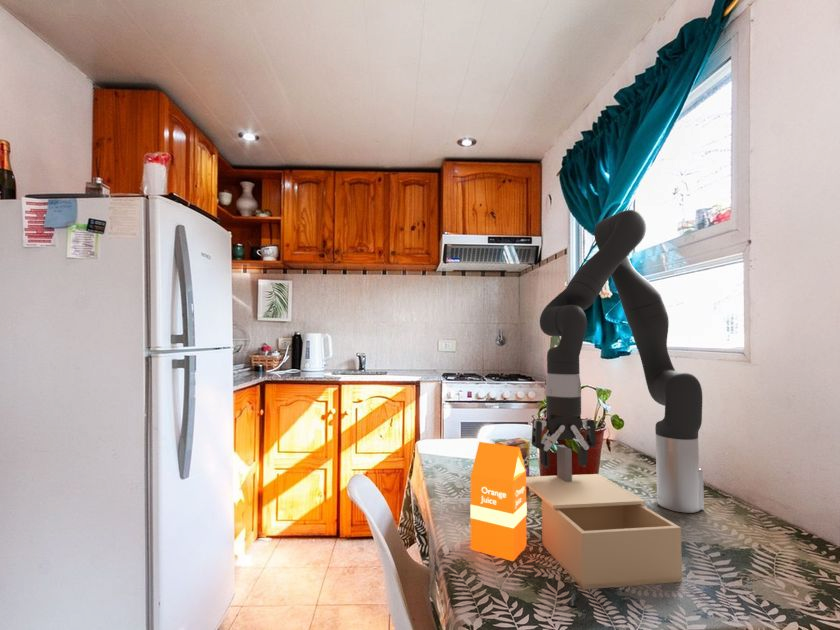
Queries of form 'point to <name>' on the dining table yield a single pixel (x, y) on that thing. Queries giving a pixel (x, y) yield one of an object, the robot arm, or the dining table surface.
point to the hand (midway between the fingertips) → (564, 466)
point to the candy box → (525, 452)
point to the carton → (613, 545)
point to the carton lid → (578, 487)
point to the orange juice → (498, 501)
